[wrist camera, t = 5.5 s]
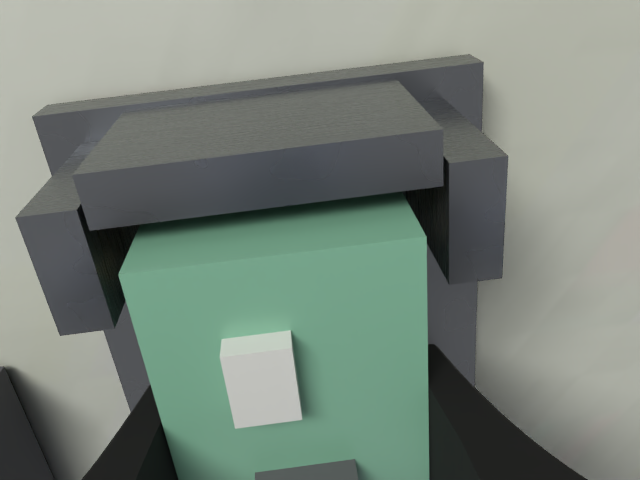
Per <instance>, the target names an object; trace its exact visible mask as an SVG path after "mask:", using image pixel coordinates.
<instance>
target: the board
mask: <svg viewBox="0 0 640 480" xmlns="http://www.w3.org/2000/svg"><path fill="white" fill-rule="evenodd" d="M118 276H119V279H120V282H121V286H122V289H123V293H124V296H125V299H126V303H127V306H128V310H129V313H130V316H131V320H132V323H133V327H134V330H135V333H136V337H137V340H138V344H139V347H140V350H141V354H142V357H143V361H144V364H145V367H146V371H147V374H148V378H149V381H150V385H151V388H152V391H153V395H154V398H155V402H156V405H157V408H158V412H159V415H160V419H161V422H162V425H163V429H164V432H165V436H166V439H167V442H168V446H169V449H170V453H171V456H172V459H173V463H174V466H175V470H176V473H177V476H178V480H429V405H428V318H427V236H426V235H425V233H424V231H423V229H422V227H421V226H420V224H419V222H418V220H417V218H416V216H415V215H414V213H413V211H412V209H411V207H410V205H409V204H408V202H407V200H406V198H405V196H404V195H403V193H402V191H401V192H393V193H385V194H377V195H369V196H361V197H353V198H346V199H338V200H330V201H322V202H314V203H306V204H298V205H290V206H282V207H274V208H266V209H258V210H250V211H242V212H234V213H227V214H219V215H211V216H203V217H195V218H187V219H179V220H171V221H163V222H155V223H147V224H140V226H139V228H138V230H137V233H136V235H135V237H134V240H133V242H132V244H131V247H130V249H129V251H128V253H127V256H126V258H125V260H124V263H123V265H122V267H121V269H120V272H119V274H118Z"/></svg>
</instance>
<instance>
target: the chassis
mask: <svg viewBox="0 0 640 480" xmlns="http://www.w3.org/2000/svg"><path fill="white" fill-rule="evenodd" d="M483 63H484V62H482V61H481V60H479V59H477V58H475V57H474V56H472V55H470V54H468V55H460V56H451V57H443V58H435V59H426V60H418V61H410V62H401V63H393V64H385V65H376V66H368V67H360V68H351V69H343V70H335V71H326V72H318V73H310V74H301V75H293V76H285V77H276V78H268V79H260V80H251V81H243V82H235V83H226V84H218V85H210V86H201V87H193V88H185V89H176V90H168V91H160V92H151V93H143V94H135V95H126V96H118V97H110V98H101V99H93V100H85V101H76V102H68V103H60V104H51V105H47V106H45V107H44V108H43V109H41V110H40V111H39V112H37V113H36V114H35V115H33V116H32V118H33V121H34V124H35V127H36V130H37V133H38V136H39V139H40V142H41V145H42V148H43V151H44V154H45V157H46V160H47V163H48V166H49V169H50V172H51V175H52V177H51V178H50V179H49V180H48V182H47V183H46V184H45V185H44V186H43V187H42V188H41V189H40V191H39V192H38V193H37V194H36V195H35V196H34V197H33V198H32V199H31V201H30V202H29V203H28V204H27V205H26V206H25V207H24V208H23V210H22V211H21V212H20V213H19V214H18V215H17V216H16V217H15V218H16V221H17V223H18V226H19V229H20V231H21V234H22V236H23V239H24V242H25V244H26V247H27V250H28V252H29V255H30V258H31V260H32V263H33V266H34V268H35V271H36V274H37V276H38V279H39V281H40V284H41V287H42V289H43V292H44V295H45V297H46V300H47V303H48V305H49V308H50V311H51V313H52V316H53V319H54V321H55V324H56V326H57V329H58V332H59V334H60V336H62V335H70V334H78V333H85V332H93V331H101V330H104V333H105V336H106V339H107V342H108V345H109V348H110V351H111V354H112V357H113V360H114V363H115V366H116V369H117V372H118V375H119V378H120V381H121V384H122V387H123V390H124V393H125V396H126V399H127V402H128V405H129V408H130V411H131V412H132V410H133V409H134V407H135V406H136V404H137V403H138V401H139V400H140V398H141V397H142V395H143V394H144V392H145V391H146V389H147V388H148V386H149V385H150V381H149V378H148V374H147V371H146V367H145V364H144V361H143V357H142V354H141V350H140V347H139V344H138V340H137V337H136V333H135V330H134V327H133V323H132V320H131V316H130V313H129V310H128V306H127V303H126V299H125V296H124V293H123V289H122V286H121V282H120V279H119V276H118V274H119V272H120V269H121V267H122V265H123V263H124V260H125V258H126V256H127V253H128V251H129V249H130V247H131V244H132V242H133V240H134V237H135V235H136V233H137V230H138V228H139V226H140V224H147V223H155V222H163V221H171V220H179V219H187V218H195V217H203V216H211V215H219V214H227V213H234V212H242V211H250V210H258V209H266V208H274V207H282V206H290V205H298V204H306V203H314V202H322V201H330V200H338V199H346V198H353V197H361V196H369V195H377V194H385V193H393V192H401V191H402V193H403V195H404V196H405V198H406V200H407V202H408V204H409V205H410V207H411V209H412V211H413V213H414V215H415V216H416V218H417V220H418V222H419V224H420V226H421V227H422V229H423V231H424V233H425V235H426V236H427V318H428V344H435V345H436V346H437V347H439V349H440V350H441V351H442V352H443V353H444V355H445V356H446V357H447V358H448V359H449V360H450V361H451V363H452V364H453V365H454V366H455V367H456V368H457V369H458V370H459V371H460V373H461V374H462V375H463V376H464V377H465V378H466V379H467V380H468V381H469V382H470V383H471V384H472V385H473V386H474V383H475V347H476V312H477V281H483V280H491V279H498V278H502V267H503V248H504V228H505V208H506V189H507V169H508V155H507V154H505V153H504V152H503V151H502V150H501V149H500V148H499V147H498V146H497V145H495V144H494V143H493V142H492V141H491V140H490V139H489V138H488V137H486V136H485V135H484V134H483V133H482V98H483Z"/></svg>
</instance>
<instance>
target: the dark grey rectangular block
mask: <svg viewBox="0 0 640 480" xmlns="http://www.w3.org/2000/svg"><path fill="white" fill-rule="evenodd" d="M0 480H54V478H53V476H52V473H51V471H50V469H49V467H48V464H47V462H46V460H45V458H44V455H43V453H42V451H41V449H40V446H39V444H38V442H37V440H36V437H35V435H34V433H33V431H32V429H31V426H30V424H29V422H28V420H27V417H26V415H25V413H24V411H23V408H22V406H21V404H20V402H19V399H18V397H17V395H16V393H15V390H14V388H13V386H12V384H11V381H10V379H9V377H8V375H7V372H6V370H5V368H4V366H3V367H0Z"/></svg>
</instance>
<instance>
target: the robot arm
mask: <svg viewBox="0 0 640 480" xmlns="http://www.w3.org/2000/svg"><path fill="white" fill-rule="evenodd" d="M428 405H429V480H587V479H586V478H584V477H582V476H581V475H579V474H578V473H576V472H575V471H573V470H572V469H571V468H569V467H568V466H566V465H565V464H563V463H562V462H561V461H559V460H558V459H557V458H555V457H554V456H552V455H551V454H550V453H548V452H547V451H546V450H544V449H543V448H542V447H541V446H539V445H538V444H537V443H535V442H534V441H533V440H532V439H531V438H529V437H528V436H527V435H526V434H524V433H523V432H522V431H521V430H520V429H519V428H517V427H516V426H515V425H514V424H513V423H512V422H511V421H509V420H508V419H507V418H506V417H505V416H504V415H503V414H502V413H501V412H499V411H498V410H497V409H496V408H495V407H494V406H493V405H492V404H491V403H490V402H489V401H488V400H487V399H486V398H485V397H484V396H483V395H482V394H481V393H480V392H479V391H478V390H477V389H476V388H475V387H474V386H473V385H472V384H471V383H470V382H469V381H468V380H467V379H466V378H465V377H464V376H463V375H462V374H461V373H460V371H459V370H458V369H457V368H456V367H455V366H454V365H453V364H452V363H451V361H450V360H449V359H448V358H447V357H446V356H445V355H444V353H443V352H442V351H441V350H440V349H439V347H437V346H436V345H435V344H428ZM82 480H178V476H177V473H176V470H175V466H174V463H173V459H172V456H171V453H170V449H169V446H168V442H167V439H166V436H165V432H164V429H163V425H162V422H161V419H160V415H159V412H158V408H157V405H156V402H155V398H154V395H153V391H152V388H151V385H149V386H148V388H147V389H146V391H145V392H144V394H143V395H142V397H141V398H140V400H139V401H138V403H137V404H136V406H135V407H134V409H133V410H132V412H131V413H130V415H129V416H128V418H127V419H126V421H125V422H124V423H123V425H122V426H121V428H120V429H119V431H118V432H117V433H116V435H115V436H114V438H113V439H112V440H111V442H110V443H109V445H108V446H107V447H106V449H105V450H104V451H103V453H102V454H101V456H100V457H99V458H98V460H97V461H96V462H95V464H94V465H93V466H92V467H91V469H90V470H89V471H88V472H87V474H86V475H85V476H84V477H83V479H82Z"/></svg>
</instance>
